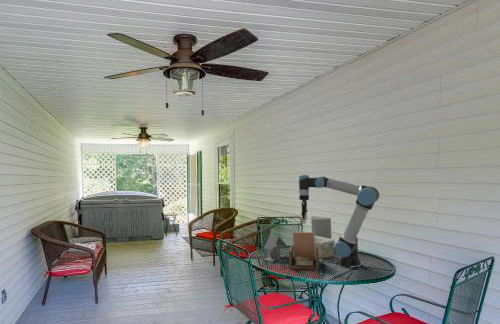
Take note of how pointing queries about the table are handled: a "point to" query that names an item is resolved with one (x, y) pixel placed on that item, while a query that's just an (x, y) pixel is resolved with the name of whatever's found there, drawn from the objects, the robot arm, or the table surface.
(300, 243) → the sheet
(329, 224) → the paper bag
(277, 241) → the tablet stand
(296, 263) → the offcut stack
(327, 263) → the table surface
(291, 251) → the rack
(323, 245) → the storage basket
